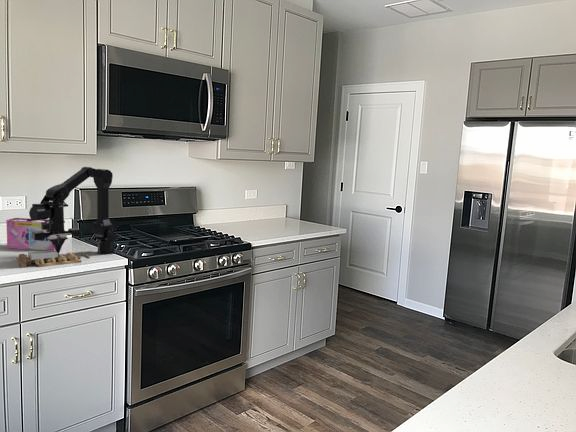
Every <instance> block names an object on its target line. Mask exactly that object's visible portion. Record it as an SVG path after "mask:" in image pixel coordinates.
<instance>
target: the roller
mask: <svg viewBox="0 0 576 432" xmlns="http://www.w3.org/2000/svg"><path fill="white" fill-rule="evenodd" d="M23 254H24V255H25V256H26V266H29V265H32V263H33V262H32V260H31V259H30V258H29V257H28V255H26V254H25V253H23Z"/></svg>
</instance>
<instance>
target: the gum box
mask: <svg viewBox="0 0 576 432" xmlns="http://www.w3.org/2000/svg"><path fill="white" fill-rule="evenodd" d="M48 221H49V219H44V220H36V221H33V220H32V219H31V218H25V217H21V218H20V217H13V218H9V219H6V220H5V223H6V224H5V225H6V248H7V249H19V250H20V249H21V250H36V251H37V250H41V251H48V250H54V251H55V248H54V246H53V244H52V242H51V241H50V240H48V239H47V237H45V239H44V240H34V239H32V237H31V234H32V232H35V231H43V232H44V233H48V232H46V230H42V229H41V223H42V222H47V223H48ZM56 238H57V236H56Z"/></svg>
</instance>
